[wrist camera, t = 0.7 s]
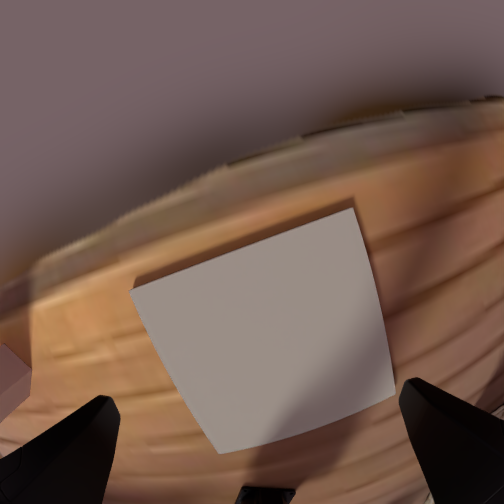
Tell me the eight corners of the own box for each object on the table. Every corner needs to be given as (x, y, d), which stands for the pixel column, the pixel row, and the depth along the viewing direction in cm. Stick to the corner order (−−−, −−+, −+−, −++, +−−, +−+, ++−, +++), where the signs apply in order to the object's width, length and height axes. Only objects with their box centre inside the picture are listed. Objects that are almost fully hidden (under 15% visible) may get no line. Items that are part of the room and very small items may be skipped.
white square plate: (392, 389, 23) (395, 393, 22) (219, 449, 23) (219, 454, 22) (349, 208, 21) (352, 207, 20) (132, 288, 21) (128, 290, 20)
